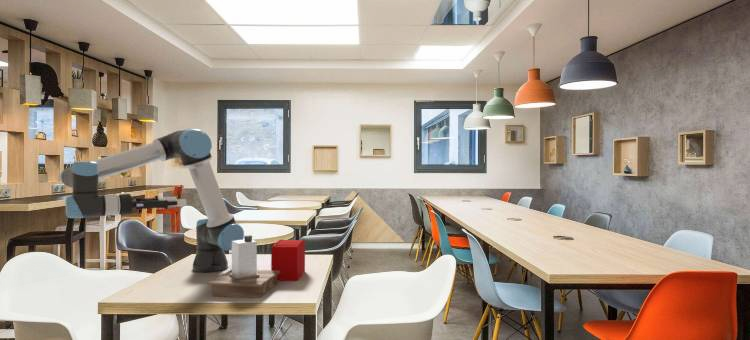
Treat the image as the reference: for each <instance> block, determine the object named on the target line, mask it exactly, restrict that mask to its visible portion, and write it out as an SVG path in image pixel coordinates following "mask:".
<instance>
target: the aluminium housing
mask: <svg viewBox="0 0 750 340" xmlns="http://www.w3.org/2000/svg"><path fill="white" fill-rule="evenodd" d="M257 247H258V246H257V241H256V240H254V239H253V235H244V238H243V240H235V241H232V250H231V270H232V273H230V274H229V276H230V277H232V278H233V279H235V280H237V281H239V280H245V279H251V278H257V277H259V274H257V270H258V265H257V264H258V262H257V261H258V257H257V256H258V255H257V253H258V251H257Z"/></svg>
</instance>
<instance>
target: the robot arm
mask: <svg viewBox="0 0 750 340" xmlns="http://www.w3.org/2000/svg"><path fill="white" fill-rule="evenodd" d="M212 145H213V143H212V140H211V137H210V135H208V134H207V133H206V132H205V131H203V130H201V129H197V128H188V129H182V130H176V131H173V132H171V133H168V134H166V135H163V136H162V137H159V138H155V139H153V141H152V142H150V143H147V144H144V145H140V146H137V147H135V148H134V147H133V148H131V149H127V150H124V151H120V152H118V153H114V154H110V155H108V156H105V157H101V158H98V159H94V160H92V161H73V162H72V164H71V165H72V166H69V167H66V168H64V169H63V170H62V171H61V173H60V176H59V178H60V179H59V180H60V181H61V183H62V184H64V186H66V187H69V188H72V195H69V196H66V197H65V206H64V207H65V215H66V217H67V218H69V219H86V218H96V217H98V218H99V217H107V218H108V219H109V218H111V217H112V216H117V215H120V216H126V215H131V214H132V211H133V208H135V209H136V210H143V209H147V210H148V209H165V210H168V209H169V208H177V207H187V199H186V198H178V197H177V196H164V197H159V195H155V196H154V197H142V198H141V197H136V198H133V197H132V195H131V194H130V193H123V194H119V195H118V194H114V193H113V194H99V181H100V180H103V179H107V178H109V177H111V176H112V177H113V176H115V175H118V174H122V173H125V172H127V171H130V170H134V169H136V168H140V167H143V166H146V165H149V164H151V163H155V162H157V161H161V162H165V161H168V160H172V159H180V161H181V164H182V167H184V168H187V169H188V171H189V173H190V176H191V178H192V181H193V183H194V185H195V186H194V187H195V189H196V191H197V194H198V198H199V199H200V202H201V205H202V208H203V209H204V212H205V215H206V217H207V218H203V219H202V218H201V219H197V220H196V227H195V229H196V230H195V232H196V254H195V256H194V260H193V263H192V271H193V272H197V273H211V272H218V271H223V270H225V269H227V268H228V267H229V263H228V262H229V261H228V259H227V256H226V253H225V251H232V241H235V240H244V236H245V231H244V229H243V227H242V226H241V225H240V224H239V223H237V222H236V220H235V216H234V215H233V214H232V213H229V211H228V208H227V205H226V202H225V200H224V198H223V195H222V192H221V190H220V186H219V184H218V182H217V178H216V176H215V173H214V171H213V168H212V165H211V162H210V161H211V160H212V158H213V157H212V154H211V151H212V149H213V148H212Z"/></svg>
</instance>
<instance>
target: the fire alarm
mask: <svg viewBox="0 0 750 340" xmlns="http://www.w3.org/2000/svg"><path fill="white" fill-rule="evenodd" d="M270 250H271V251H270V252H271V253H270V254H271V255H270V256H271V257H270V263H271V264H270V270H276V271H280V273H279V274H277V282H278V281H282V282H283V281H284V282H286V281H289V282H291V281H292V282H295V281H299V280H300V278H301V277H302V276H303V274H304V273H305V271H306V266H305V265H306V240H305V239H278V240H277V241H276V242H274V244H273V246H272V247H271V249H270Z"/></svg>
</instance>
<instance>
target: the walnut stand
mask: <svg viewBox="0 0 750 340" xmlns="http://www.w3.org/2000/svg"><path fill="white" fill-rule="evenodd" d="M230 273H232V269H231V270H228V271H227V272H225V273H223V274H221V275H219V276H218V277H216V278H213V279H212V280H210V281H208V282H207V285H208V286H211V296H212V297H231V298H232V297H233V298H235V297H236V298H238V297H239V298H261V297H262V296H263V295H264V294H266V293H267V292H268V291H270V290H271V289H272V288H273V287H274V286H276V285H277V284H278V281H277V274H279V273H280V271H276V270H271V269H270V270H269V269H257V274H259V277H257V278H251V279H245V280H239V281H237V280H235V279H233V278H232V277H230V276H229V274H230Z"/></svg>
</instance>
